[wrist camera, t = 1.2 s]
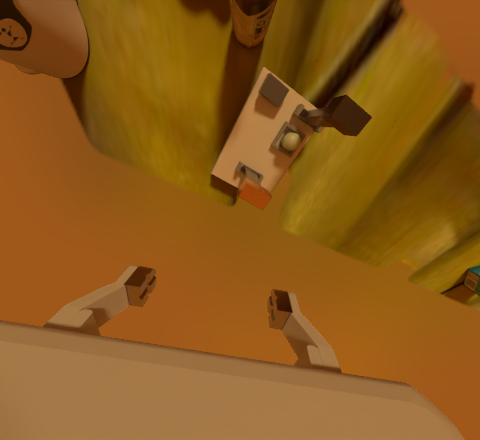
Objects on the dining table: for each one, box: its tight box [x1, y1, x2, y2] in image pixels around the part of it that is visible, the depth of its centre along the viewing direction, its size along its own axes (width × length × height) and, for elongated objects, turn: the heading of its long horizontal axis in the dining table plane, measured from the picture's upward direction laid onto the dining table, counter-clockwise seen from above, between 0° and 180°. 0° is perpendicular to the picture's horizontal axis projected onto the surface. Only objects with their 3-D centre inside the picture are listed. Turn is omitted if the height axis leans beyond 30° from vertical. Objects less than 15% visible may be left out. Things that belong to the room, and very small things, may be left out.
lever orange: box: [238, 164, 271, 209], centre depth 32 cm, size 4×2×15 cm, turn 60°
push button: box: [281, 132, 301, 150], centre depth 34 cm, size 3×3×3 cm
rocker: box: [258, 73, 289, 107], centre depth 31 cm, size 4×3×2 cm
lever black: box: [297, 95, 372, 136], centre depth 27 cm, size 4×2×15 cm, turn 60°
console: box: [211, 67, 324, 193], centre depth 37 cm, size 15×22×6 cm
